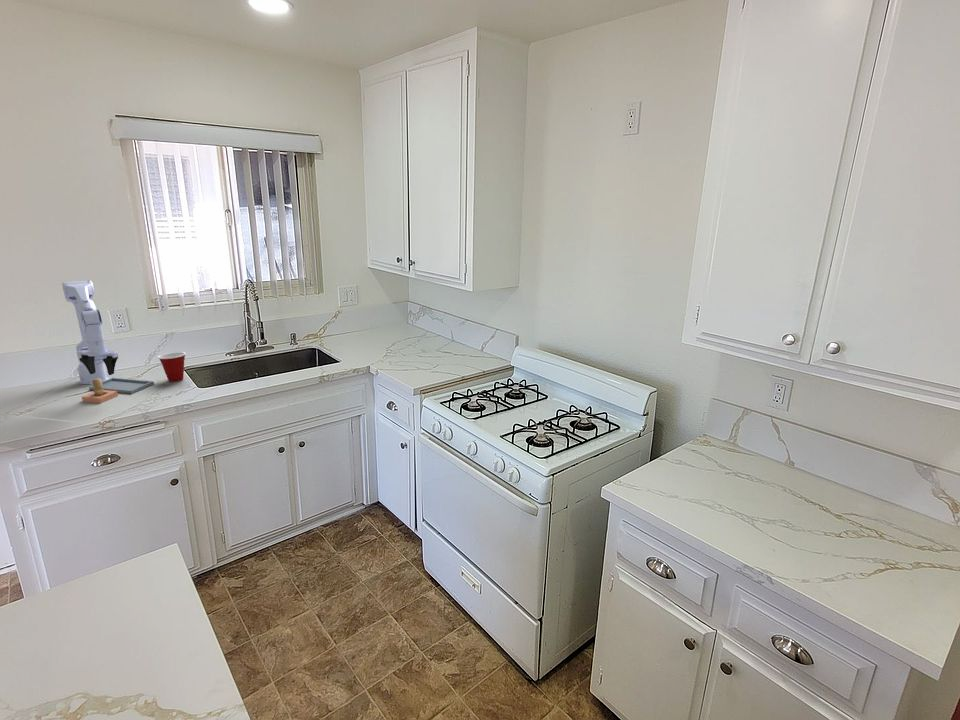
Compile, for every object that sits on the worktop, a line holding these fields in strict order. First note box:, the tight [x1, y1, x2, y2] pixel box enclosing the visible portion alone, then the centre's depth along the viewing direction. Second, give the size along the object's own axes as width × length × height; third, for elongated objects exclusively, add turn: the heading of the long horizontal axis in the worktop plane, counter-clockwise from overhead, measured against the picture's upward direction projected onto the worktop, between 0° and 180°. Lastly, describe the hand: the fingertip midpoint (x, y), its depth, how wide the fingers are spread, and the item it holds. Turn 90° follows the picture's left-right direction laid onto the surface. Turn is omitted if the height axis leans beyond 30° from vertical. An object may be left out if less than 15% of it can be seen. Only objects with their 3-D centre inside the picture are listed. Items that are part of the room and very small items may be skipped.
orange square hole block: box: [81, 390, 119, 404], centre depth 209 cm, size 8×8×2 cm
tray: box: [88, 377, 155, 395], centre depth 222 cm, size 20×12×2 cm, turn 81°
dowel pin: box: [92, 378, 104, 396], centre depth 208 cm, size 3×3×8 cm
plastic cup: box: [157, 351, 186, 383], centre depth 231 cm, size 11×11×12 cm
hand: (102, 373), depth 208 cm, fingers open, 7 cm apart
